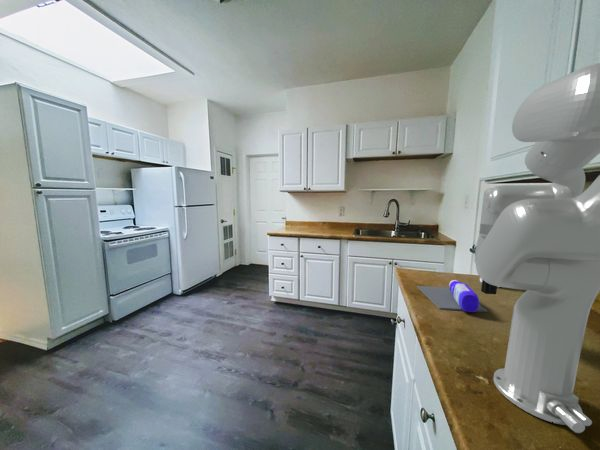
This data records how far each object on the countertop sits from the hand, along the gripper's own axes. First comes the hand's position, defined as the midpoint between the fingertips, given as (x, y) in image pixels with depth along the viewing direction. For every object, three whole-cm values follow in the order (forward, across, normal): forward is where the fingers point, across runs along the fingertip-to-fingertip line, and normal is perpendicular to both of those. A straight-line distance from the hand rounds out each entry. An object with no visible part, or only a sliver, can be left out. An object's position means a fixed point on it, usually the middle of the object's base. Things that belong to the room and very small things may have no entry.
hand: (488, 292), depth 69 cm
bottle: (+8, +9, -1) cm, 12 cm away
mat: (+12, +22, -1) cm, 25 cm away
